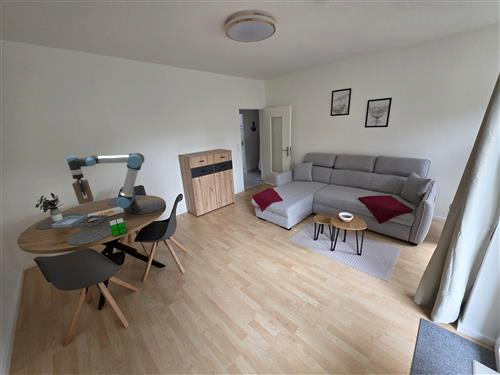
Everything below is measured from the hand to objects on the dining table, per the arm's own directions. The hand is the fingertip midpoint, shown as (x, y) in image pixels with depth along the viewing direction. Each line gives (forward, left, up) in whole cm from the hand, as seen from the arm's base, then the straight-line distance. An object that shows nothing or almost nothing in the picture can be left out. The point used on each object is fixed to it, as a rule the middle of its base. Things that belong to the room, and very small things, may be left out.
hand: (85, 196), depth 184 cm
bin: (+22, +2, -26) cm, 34 cm away
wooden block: (0, 0, -5) cm, 5 cm away
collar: (0, 0, -26) cm, 26 cm away
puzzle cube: (-41, +22, -26) cm, 53 cm away
